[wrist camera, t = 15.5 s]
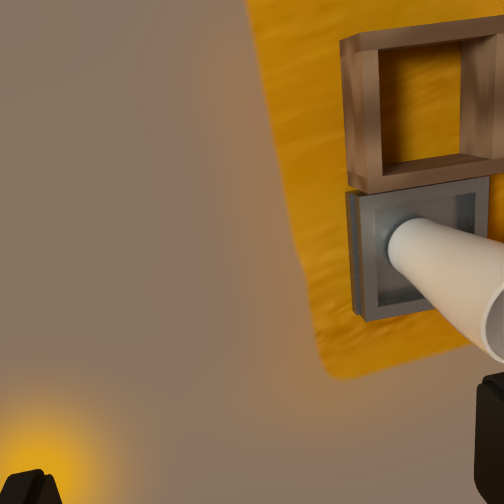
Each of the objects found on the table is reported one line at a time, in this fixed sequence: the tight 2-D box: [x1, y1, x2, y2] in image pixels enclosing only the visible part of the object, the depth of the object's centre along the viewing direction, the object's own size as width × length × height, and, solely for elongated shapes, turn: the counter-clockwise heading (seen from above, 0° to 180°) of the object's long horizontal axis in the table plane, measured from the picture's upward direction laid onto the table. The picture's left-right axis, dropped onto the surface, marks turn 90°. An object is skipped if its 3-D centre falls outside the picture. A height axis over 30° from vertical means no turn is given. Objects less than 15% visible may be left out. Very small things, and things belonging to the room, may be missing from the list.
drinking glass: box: [388, 218, 504, 364], centre depth 35 cm, size 7×7×15 cm
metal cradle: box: [345, 175, 489, 322], centre depth 42 cm, size 11×12×2 cm
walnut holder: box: [339, 15, 504, 194], centre depth 37 cm, size 11×11×4 cm
